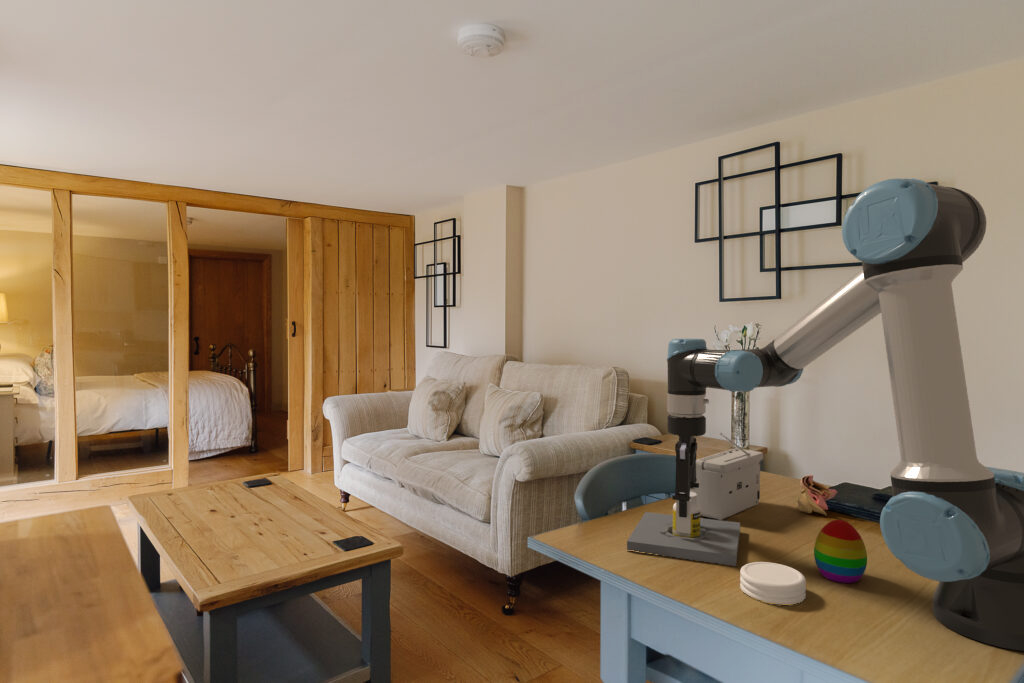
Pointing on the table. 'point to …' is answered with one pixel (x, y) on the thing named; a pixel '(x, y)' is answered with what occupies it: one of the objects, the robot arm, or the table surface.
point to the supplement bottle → (694, 519)
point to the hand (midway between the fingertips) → (686, 525)
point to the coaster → (773, 583)
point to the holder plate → (687, 539)
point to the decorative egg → (840, 552)
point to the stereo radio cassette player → (728, 482)
